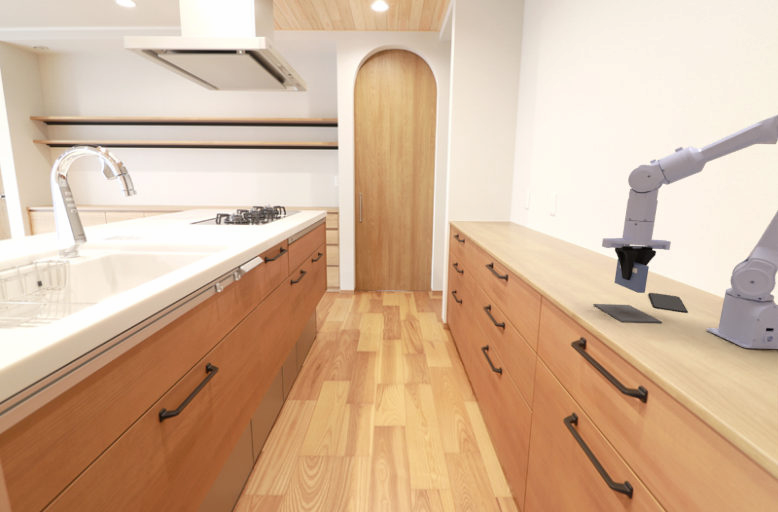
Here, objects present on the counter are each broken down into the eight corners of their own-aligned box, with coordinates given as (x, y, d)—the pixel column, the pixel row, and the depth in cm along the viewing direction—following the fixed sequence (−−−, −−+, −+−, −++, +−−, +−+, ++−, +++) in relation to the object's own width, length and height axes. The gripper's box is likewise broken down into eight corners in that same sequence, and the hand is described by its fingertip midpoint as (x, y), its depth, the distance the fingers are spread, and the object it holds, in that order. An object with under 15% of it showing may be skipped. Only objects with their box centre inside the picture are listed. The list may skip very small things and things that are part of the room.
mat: (661, 323, 89) (662, 321, 89) (621, 322, 88) (621, 320, 88) (628, 306, 100) (629, 304, 100) (593, 305, 100) (593, 303, 100)
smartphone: (652, 306, 100) (647, 292, 113) (652, 310, 100) (647, 295, 113) (689, 312, 96) (679, 296, 109) (688, 315, 97) (679, 299, 110)
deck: (644, 292, 89) (648, 266, 88) (637, 292, 89) (641, 266, 88) (620, 282, 98) (624, 258, 97) (614, 282, 98) (617, 258, 97)
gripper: (659, 219, 94) (650, 276, 97) (598, 217, 94) (590, 274, 97) (681, 223, 88) (670, 283, 90) (615, 220, 87) (607, 281, 90)
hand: (630, 279), depth 93 cm, fingers closed on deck, 2 cm apart
